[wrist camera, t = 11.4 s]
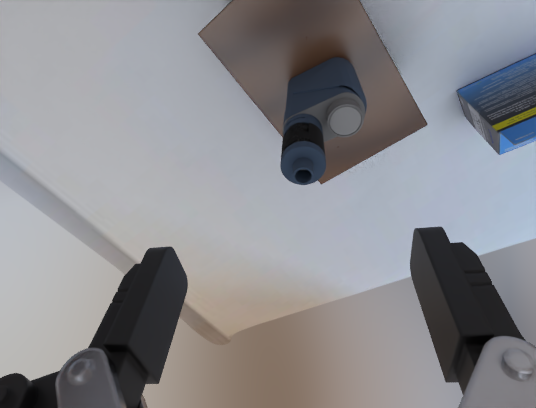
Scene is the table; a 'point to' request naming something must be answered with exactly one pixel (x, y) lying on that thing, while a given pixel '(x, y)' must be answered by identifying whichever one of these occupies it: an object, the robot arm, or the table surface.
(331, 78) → the vaping device
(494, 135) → the blue cardboard box
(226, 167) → the table surface
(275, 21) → the block
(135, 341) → the robot arm
